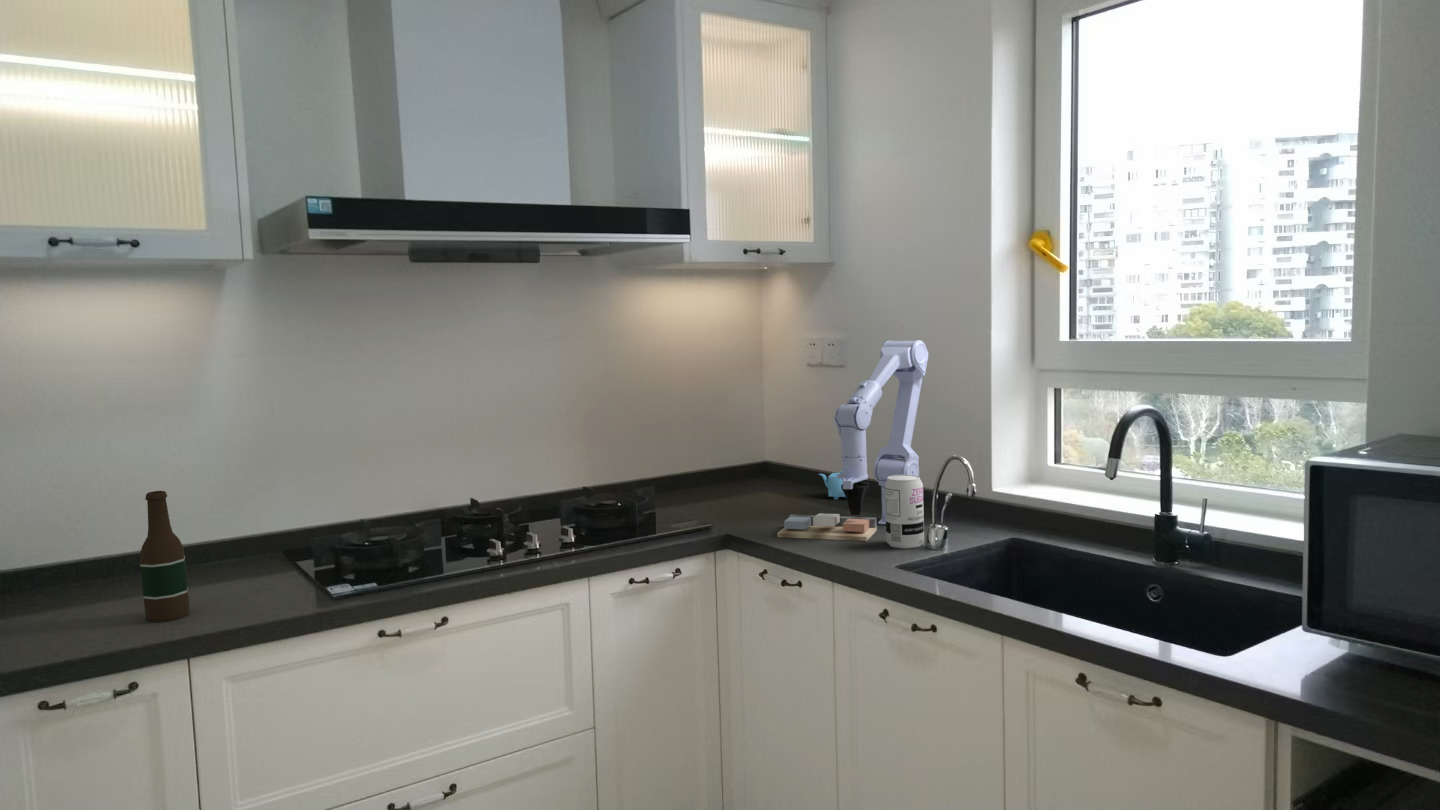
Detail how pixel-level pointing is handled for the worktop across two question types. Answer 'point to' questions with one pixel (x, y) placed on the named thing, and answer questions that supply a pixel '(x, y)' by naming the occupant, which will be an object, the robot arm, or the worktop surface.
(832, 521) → the key middle
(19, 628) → the worktop surface
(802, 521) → the key slate
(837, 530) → the keypad base
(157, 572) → the beer bottle
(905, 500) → the supplement can
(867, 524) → the key terracotta
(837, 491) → the teapot
